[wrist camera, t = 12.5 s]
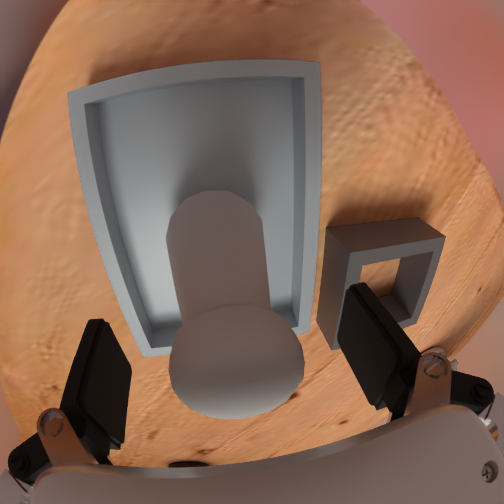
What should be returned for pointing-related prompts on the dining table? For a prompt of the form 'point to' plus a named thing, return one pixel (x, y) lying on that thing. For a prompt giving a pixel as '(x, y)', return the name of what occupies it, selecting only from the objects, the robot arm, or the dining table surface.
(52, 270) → the dining table surface
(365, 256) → the holder
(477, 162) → the dining table surface
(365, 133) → the dining table surface
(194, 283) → the salt shaker
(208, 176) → the tray
